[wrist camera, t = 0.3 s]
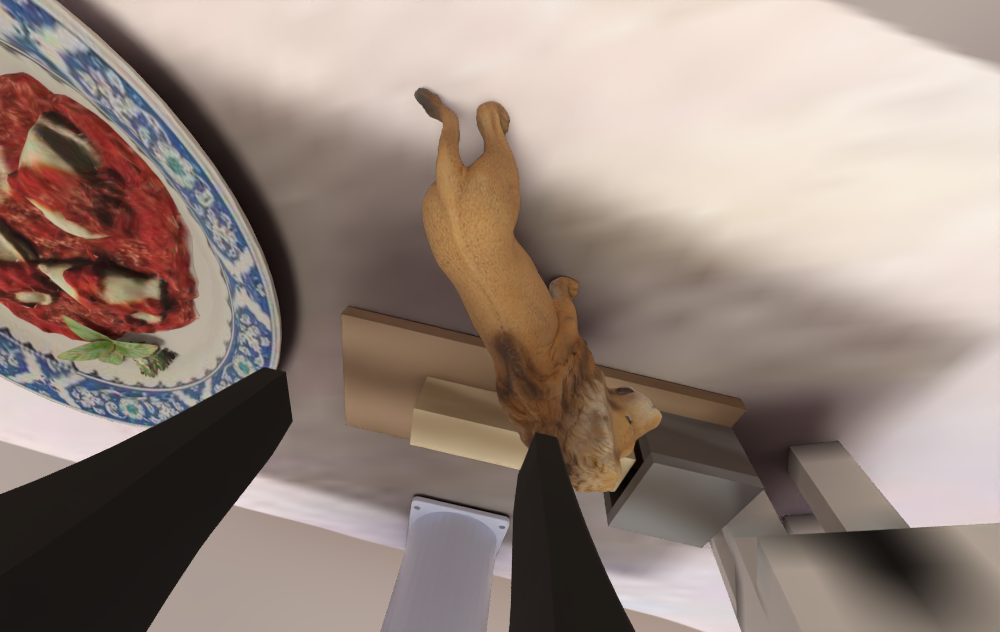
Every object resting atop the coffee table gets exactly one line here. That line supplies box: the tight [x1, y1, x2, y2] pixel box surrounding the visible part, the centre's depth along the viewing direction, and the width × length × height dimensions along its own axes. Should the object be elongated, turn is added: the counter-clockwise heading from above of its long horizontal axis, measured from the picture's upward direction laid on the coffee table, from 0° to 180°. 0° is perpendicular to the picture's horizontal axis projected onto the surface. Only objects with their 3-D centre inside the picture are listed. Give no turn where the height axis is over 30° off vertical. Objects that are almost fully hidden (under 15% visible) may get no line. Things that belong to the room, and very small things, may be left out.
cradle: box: [341, 307, 765, 548], centre depth 21 cm, size 9×22×4 cm, turn 78°
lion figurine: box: [414, 88, 662, 492], centre depth 13 cm, size 15×5×9 cm, turn 34°
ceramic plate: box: [0, 0, 282, 428], centre depth 19 cm, size 26×26×3 cm
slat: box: [410, 376, 636, 492], centre depth 21 cm, size 3×12×2 cm, turn 78°
